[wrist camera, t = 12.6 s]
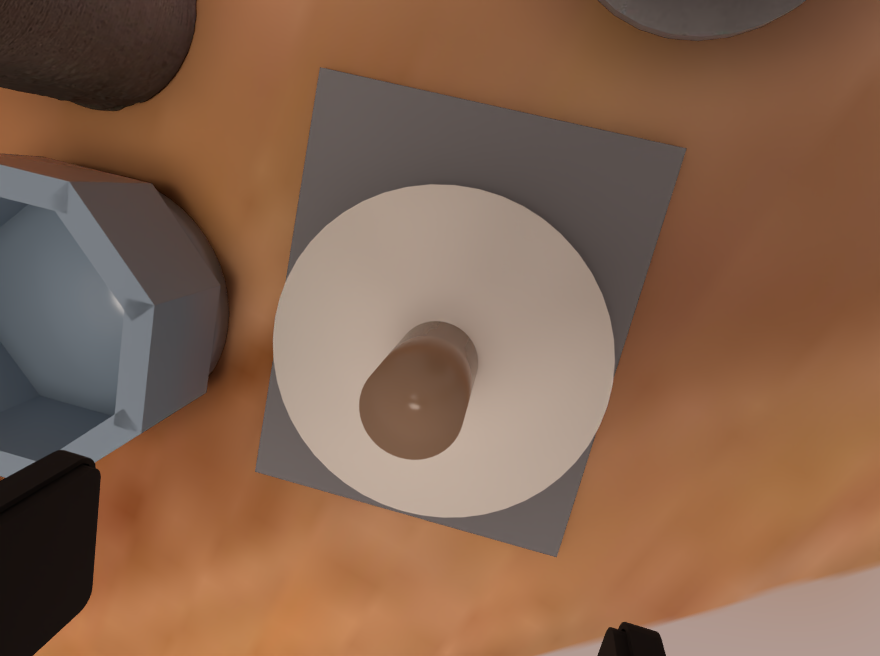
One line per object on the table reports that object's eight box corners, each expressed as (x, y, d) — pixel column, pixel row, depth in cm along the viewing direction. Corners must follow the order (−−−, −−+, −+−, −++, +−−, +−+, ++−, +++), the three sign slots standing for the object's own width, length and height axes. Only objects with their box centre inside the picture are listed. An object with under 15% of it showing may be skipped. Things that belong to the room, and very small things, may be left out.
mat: (682, 149, 25) (686, 148, 24) (556, 550, 30) (556, 557, 29) (324, 69, 26) (320, 67, 26) (260, 466, 31) (255, 471, 31)
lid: (651, 229, 25) (709, 245, 17) (556, 529, 29) (568, 655, 21) (320, 151, 26) (233, 132, 19) (270, 448, 30) (179, 538, 22)
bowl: (251, 202, 28) (164, 205, 21) (217, 445, 31) (133, 515, 25) (5, 142, 29) (-153, 126, 22) (-4, 383, 32) (-143, 433, 26)
